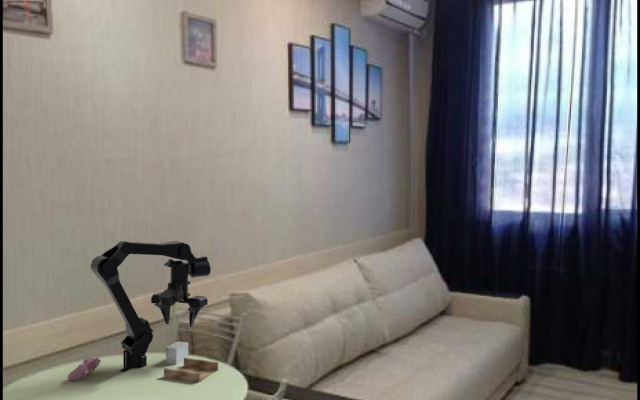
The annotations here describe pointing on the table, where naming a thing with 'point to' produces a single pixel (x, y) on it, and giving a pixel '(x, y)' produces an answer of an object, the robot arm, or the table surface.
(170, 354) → the metal block
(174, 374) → the brown wooden tray
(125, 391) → the table surface
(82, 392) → the table surface
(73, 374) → the pink elongated piece
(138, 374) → the table surface
